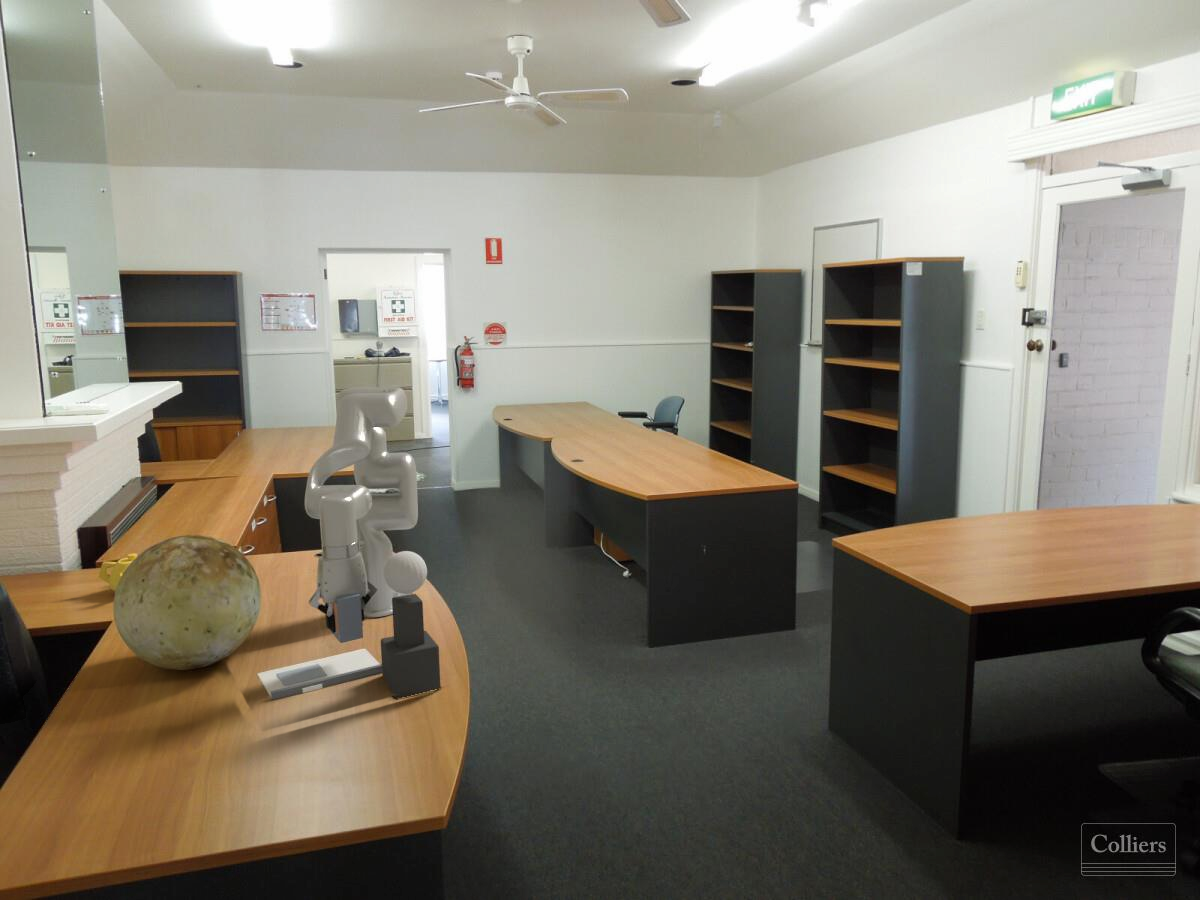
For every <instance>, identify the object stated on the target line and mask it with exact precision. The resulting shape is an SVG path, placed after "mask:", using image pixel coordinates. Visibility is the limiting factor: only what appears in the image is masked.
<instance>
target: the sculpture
mask: <svg viewBox="0 0 1200 900" xmlns="http://www.w3.org/2000/svg"><path fill="white" fill-rule="evenodd" d="M384 577H385V580H386V583H387V585H388V586H389V587H390V588H391V589H392V590H394V591H396V592H398V593H403V594H407V593H413V592H416V591H417V590H419V589H420V588H422V586H423V585H424V583H425V582H426V580H427V577H428V568H427V564H426V562H425V560H424V559H423V558H422V556H421V555H419V554H418V553H416V552H414V551H409V550H403V551H398V552H395V554H393V556H392V557H391V558H390V559H389V560H388V561H387V563H386V565H385V569H384ZM392 610H393V614H392V623H393V624H392V625H393V626H392V627H393V636H388V637H384V638H383V637H382V638H381V639H380V653H381V654H380V656H381V657H380V658H381V664H382V673H381V674H382V678H383V679H384V681H385V683H386V684H387V686H388V688H389V689H390V691H391V694H393V695H392V696H391V697H392V699H393V700H394V699H397V700H399V699H398V698H402V697H406V698H408V697H407V696H411V695H415V694H419V693H423V692H427V691H430V690H435V689H439V688H440V687H441V669H440V666H441V665H440V649H439V645H438V644H437V643H436V641H435V640H434V639H433V637H432V636H431V635H430V634H429V632H428V631H427V630H425V626H424V625H425V623H424V603H423V600H422V599H421V598H420V597H419V596H418V595H417V594H416V593H413V594H411V595H405V596H399V597H393V598H392ZM440 689H441V688H440ZM415 696H416V695H415ZM411 697H412V696H411ZM402 699H403V698H402Z"/></svg>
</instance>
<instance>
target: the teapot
mask: <svg viewBox="0 0 1200 900" xmlns="http://www.w3.org/2000/svg"><path fill="white" fill-rule="evenodd" d="M140 554H141V553H138V554H137V553H134V552H133V553H129V554H127V555H126V557H124V558H121V559H119V560H117V561H103V562H102V563H101V567H100V571H99V572H98V573H99V574H98V578H100V579H101V580H102V581H104V582H106V583H107V584H108V585H109V587H110V589H111V590H113V592H114V593H115V592H116V589H117V585H118V583H119V581H120V579H121V577H122V575H123V573H124V572H125V570H126V569H127V567H128V566H129V565H130V564H131V563H132V561H133V560H134V559H135V558H136V557H137V556H139V555H140ZM108 567H109V568H112V570H111V572H110V574H109V573H108Z"/></svg>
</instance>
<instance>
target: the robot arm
mask: <svg viewBox="0 0 1200 900" xmlns="http://www.w3.org/2000/svg"><path fill="white" fill-rule="evenodd" d="M407 397H408V396H407V394H406V392H405V391H404V389H403V388H401V387H399V386H382V387H381V386H376V387H373V386H367V387H366V386H365V387H364V386H360V387H350V388H349V387H348V388H345V389H342V390H340V392H338V394H337V398H336V400H337V414H336V421H335V429H334V435H333V443H332V446H331V447H330V448H329V449H327V450H326V451H325V452H324V453H323V454H321V455H320V457H319V458H318V459H317V460H316V462H315V463H313V465H312V467H311V468H310V470H309V472H308V476H307V480H306V486H305V487H306V488H305V493H304V510H305V512H306V514H307V516H309V517H310V518H311V519H317V520H319V526H320V540H321V550H322V551H321V552H322V555H320V556H318V561H317V570H316V571H317V572H316V590H315V592H314V593H313V595H312V596H311V597H310V599H309V600H308V604H309V605H310V606H311V607H313V608H315V609H317V610H318V611H320V612H321V613H323V614H324V615H325V624H326V628H327V629H328V630H329V631H331V634H332V633H335V632H336V628H335V616H334V615H333V609H334V602H336V599H335V598H339V597H343V596H348V595H353V594H357V593H358V594H359V595H360V599H361V614H362V627H363V626H364V624H363V621H365V618H381V617H387V616H390V615H393V610H392V598H393V597H399V596H405V595H411V594H414V593H413V592H412V593H407V594H403V593H398V592H396V591H394V590H392V589H391V588H390V587H389V586H388V585H387V583H386V580H385V577H384V569H385V565H386V563H387V561H388V560H389V559H390V558H391V557H392V556H393V555H394V554H393V552H394V551H393V543H392V542H391V540H390V538H389V537H388V535H387V534H386V533H385V532H384V531H396V530H397V531H401V530H410V529H413V528H415V526H416V525H417V523H418V518H419V507H418V505H419V502H418V499H419V498H418V497H419V496H418V476H417V475H418V474H417V465H416V462H415V459H414V457H413V455H411V453H408V452H389V451H388V449H387V434H386V431H385V429H384V428H395V427H397V426H398V425H399V424H400V423H401V422H402V421H403V419H404V418H405V416H406V414H407V411H408V398H407ZM351 466H353V475H354V476H353V477H354V481H355V484H331V485H324V483H325V482H326V481H327V480H328V479H329V478H330V477H331V476H332V475H334V474H335V473H337V472H339V471H341V470H344V469H346V468H348V467H351ZM390 489H392V490H394V489H395V490H397V491H398V492H399V493H375V494H374V493H372V494H371V491H370V490H390ZM320 599H322V603H321V602H319V600H320ZM323 603H324V604H323Z"/></svg>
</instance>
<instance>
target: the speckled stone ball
mask: <svg viewBox="0 0 1200 900" xmlns="http://www.w3.org/2000/svg"><path fill="white" fill-rule="evenodd" d="M139 554H140V555H139ZM139 554H138V555H139V556H138V555H137V557H136V558H135V559H134V560H133V561H132V563H131V564H130V565H129V566H128V567H127V569H126V570H125V572H124V573H123V575H122V577H121V579H120V581H119V583H118V585H117V589H116V592H115V591H114V597H113V617H114V623H115V626H116V630H117V632H118V634H119V636H120V638H121V639H122V641H123V642H124V644H125V645H126V647H128V648H129V650H130V651H132V652H133V654H135V655H136V657H138V658H140V659H142V660H143V661H146V662H147V663H149V664H151V665H154V666H155V667H159V668H163V669H168V670H174V671H175V670H177V671H178V670H179V671H187V670H194V669H201V668H204V667H207V666H210V665H213V664H216V663H218V662H219V661H222V660H223V659H225V658H227V657H228V656H230V655H231V654H232V653H234V652H235V651H236V650H237V649H239V647H240V646H241V645H242V644H243V643H245V641H246V640H247V639H248V637H249V635H250V634H251V633H252V632H253V631H252V630H253V629H254V627H255V626H256V623H257V620H258V619H259V615H260V611H261V605H262V588H261V584H260V580H259V577H258V574H257V572H256V570H255V568H254V567H253V565H252V563H251V561H249V559H248V558H247V556H246V555H244V554H243V553H242V552H241V551H240V550H239V549H237V548H236V547H234V546H233V545H231V544H230V543H229V542H226V541H223V540H222V539H219V538H215V537H212V536H207V535H202V534H201V535H200V534H199V535H198V534H188V535H187V534H186V535H179V536H175V537H170V538H166V539H164V540H161V541H159V542H156V543H155V544H153V545H151V546H150V547H148V548H146V549H145V550H144V551H142V552H141V553H139Z"/></svg>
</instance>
